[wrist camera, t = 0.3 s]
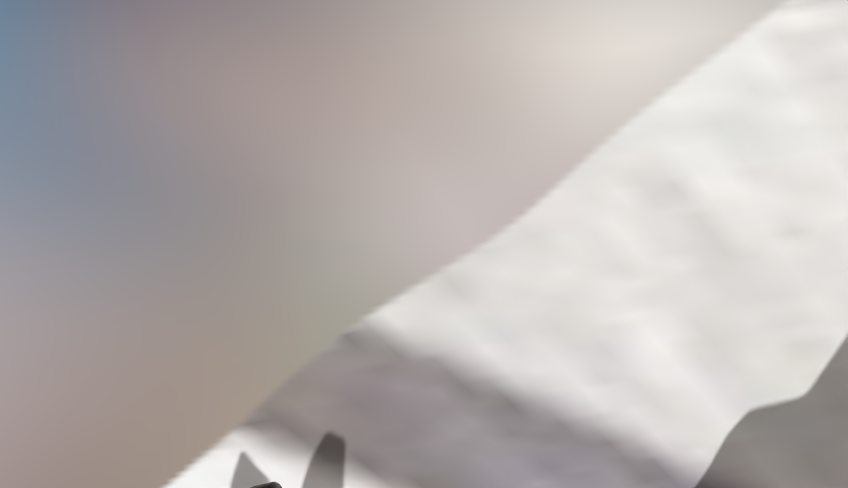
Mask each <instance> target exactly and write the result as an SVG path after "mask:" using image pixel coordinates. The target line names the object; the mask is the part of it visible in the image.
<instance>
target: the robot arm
mask: <svg viewBox="0 0 848 488" xmlns="http://www.w3.org/2000/svg"><path fill="white" fill-rule="evenodd" d="M251 488H282V487H281V486H280V484H278V483H277V482H270V483H266V484H262V485H257V486H253V487H251Z"/></svg>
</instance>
